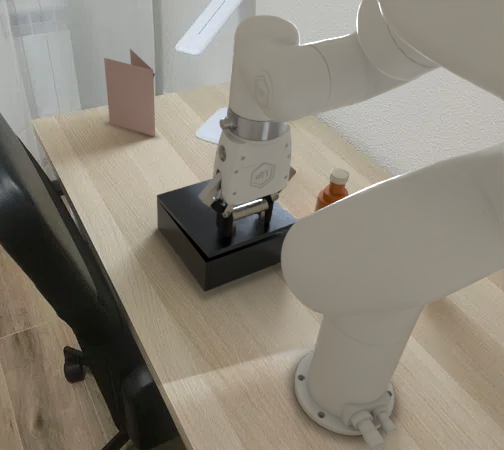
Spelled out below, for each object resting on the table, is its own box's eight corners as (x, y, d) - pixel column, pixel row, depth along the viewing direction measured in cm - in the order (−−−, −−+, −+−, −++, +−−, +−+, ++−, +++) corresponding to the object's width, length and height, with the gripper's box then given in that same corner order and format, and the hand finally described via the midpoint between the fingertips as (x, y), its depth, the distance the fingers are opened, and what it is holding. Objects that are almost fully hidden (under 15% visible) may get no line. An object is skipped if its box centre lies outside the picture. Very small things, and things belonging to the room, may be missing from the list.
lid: (299, 225, 83) (302, 197, 80) (209, 258, 77) (208, 229, 74) (238, 174, 96) (239, 148, 93) (156, 199, 90) (154, 172, 87)
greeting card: (158, 135, 117) (157, 69, 108) (126, 143, 115) (121, 76, 105) (137, 111, 125) (133, 47, 115) (106, 119, 122) (100, 53, 112)
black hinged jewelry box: (288, 262, 89) (294, 230, 85) (204, 295, 83) (206, 263, 79) (235, 205, 100) (238, 174, 96) (157, 230, 94) (156, 199, 90)
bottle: (345, 245, 93) (363, 179, 84) (318, 251, 91) (333, 185, 82) (330, 226, 96) (346, 161, 88) (304, 231, 95) (317, 166, 86)
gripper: (212, 150, 64) (205, 258, 76) (329, 118, 71) (305, 222, 83) (182, 119, 69) (180, 226, 81) (294, 92, 76) (277, 194, 88)
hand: (243, 223), depth 82 cm, fingers closed on lid, 6 cm apart
